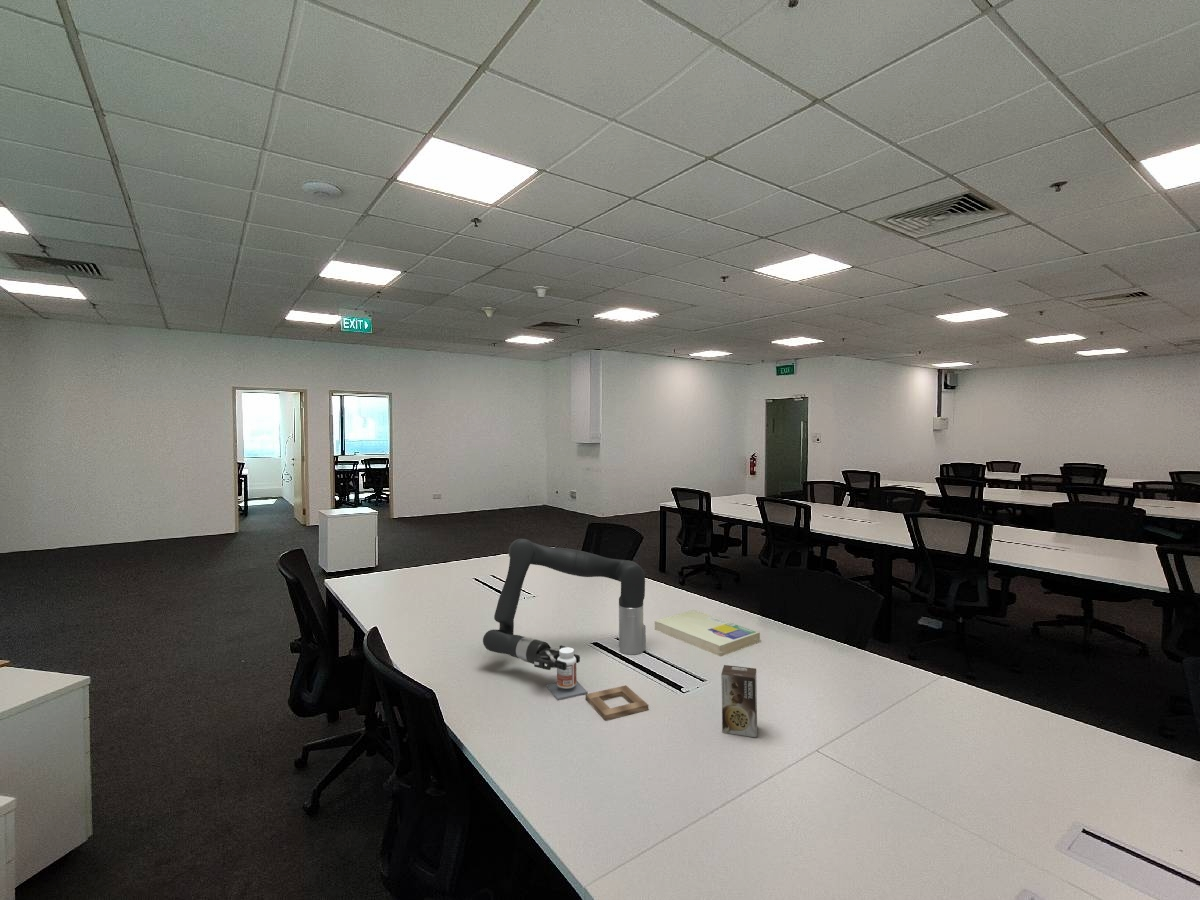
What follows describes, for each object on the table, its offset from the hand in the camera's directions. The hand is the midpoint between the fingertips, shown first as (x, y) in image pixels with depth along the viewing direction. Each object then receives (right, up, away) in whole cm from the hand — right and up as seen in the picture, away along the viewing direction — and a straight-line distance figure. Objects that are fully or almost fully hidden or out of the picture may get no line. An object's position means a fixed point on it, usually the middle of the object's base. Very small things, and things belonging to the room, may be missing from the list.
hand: (572, 662), depth 167 cm
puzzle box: (+51, -9, +49) cm, 72 cm away
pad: (-2, -9, +1) cm, 9 cm away
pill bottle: (-2, -8, +1) cm, 8 cm away
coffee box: (+47, -9, -22) cm, 53 cm away
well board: (+14, -9, -8) cm, 18 cm away
